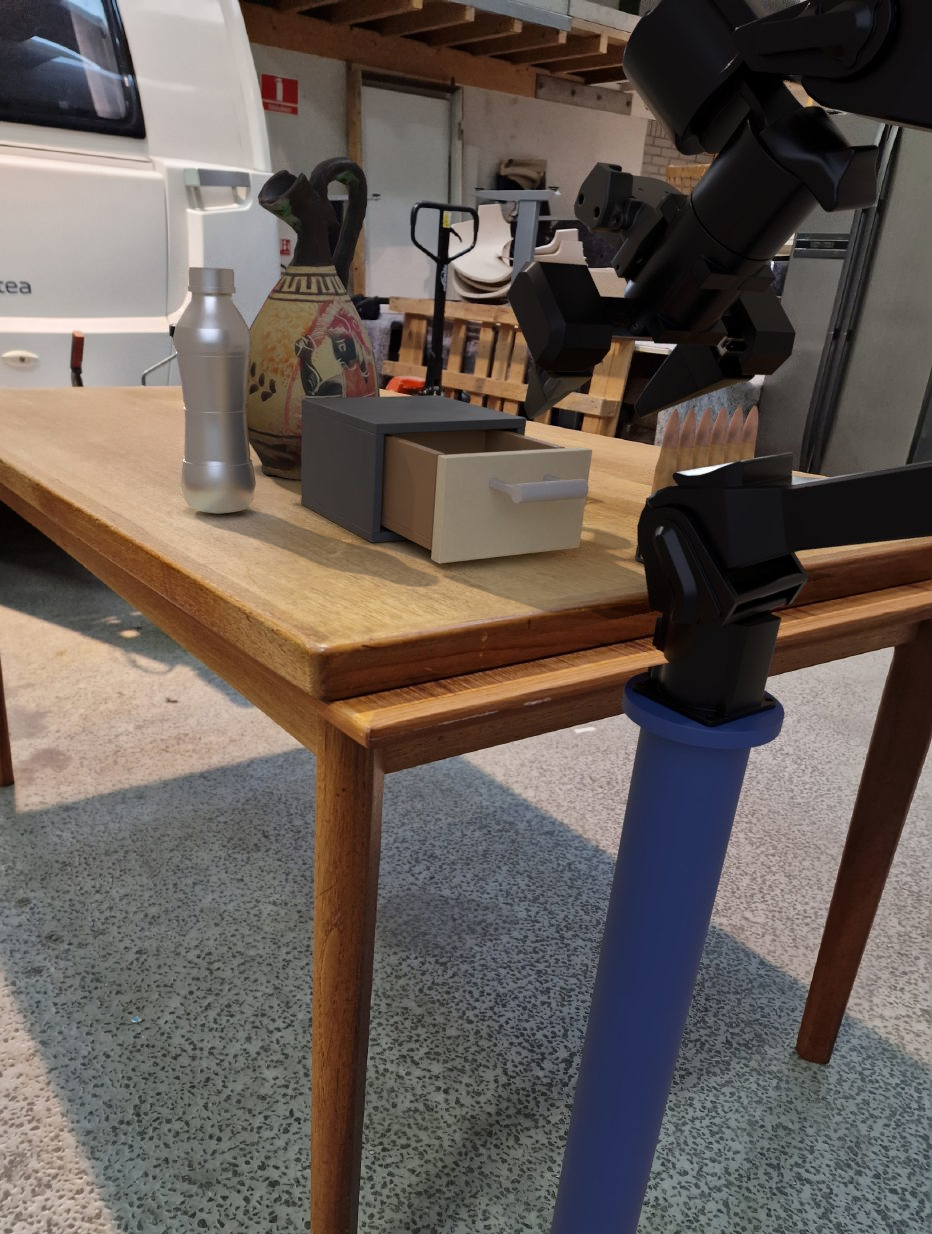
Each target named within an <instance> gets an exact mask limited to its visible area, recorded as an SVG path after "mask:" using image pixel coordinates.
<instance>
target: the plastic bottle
mask: <svg viewBox="0 0 932 1234" xmlns="http://www.w3.org/2000/svg"><path fill="white" fill-rule="evenodd" d="M187 292H189V293H190V292H191V297H190V301H189V303H188V304H187V305H186V307H185V308H184V310H183V312H182V313H181V315H180V317H179V319H178V321H177V322H176V324H175V328H174V331H173V332H174V333H173V346H174V349H175V357H176V361H177V367H178V373H179V378H180V384H181V392H182V394H181V395H182V402H183V403H184V404H183V405H184V407H183V413H184V445H183V448H184V449H183V456H184V458H183V459H182V464H181V475H180V485H181V490H182V494H183V495H182V496H183V499H184V501H185V503H186V504H187V505H188V506H189V508H190V509H192V510H194V511H197V512H203V513H208V514H215V515H225V514H229V513H236V512H240V511H244V510H247V509H248V508H249V507H250V506H251V504H252V502H253V501H254V499H255V492H256V491H255V490H256V484H257V482H256V475H255V474H256V473H255V469H254V464H253V460H252V458H251V449H250V448H251V447H250V443H249V437H248V428H247V408H246V403H247V385H248V376H249V366H250V357H251V354H250V351H251V345H252V338H251V335H250V331H249V329H250V327H249V326H248V324H247V323H246V320H245V318H244V317H243V315H242V314H241V312H240V311H239V308H238V307H237V306H236V304H235V303H234V301H233V294H236V287H235V271H234V268H222V267H221V268H219V267H203V266H202V267H198V266H189V267H188V285H187Z"/></svg>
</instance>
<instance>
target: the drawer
mask: <svg viewBox="0 0 932 1234" xmlns="http://www.w3.org/2000/svg"><path fill="white" fill-rule="evenodd" d="M592 456H593V449H591V448H587V447H583V446H581V447H580V446H579V447H565V446H562V445H559V444H555V443H551V442H549V441H545V440H541V439H538V438H534V437H532V436H527V435H525V436H524V435H521V434H517V433H514V432H510V431H507V430H503V429H486V430H463V431H440V432H416V433H393V434H384V451H383V475H382V498H381V522H380V525H382V526H384V527H386V528H388V529H390V530H392V531H394V532H396V533H398V534H400V535H402V536H404V537H406V538H408V540H409V541H412V542H414V543H415V544H417V545H419V546H420V547H423V548H425V549H427V550H429V551H431V554H430V555H431V556H430V557H431V558H430V560H432V561H434V562H435V563H437V564H447V563H455V562H466V561H474V560H482V559H491V558H499V557H508V556H517V555H524V554H525V555H526V554H527V555H528V554H534V553H542V552H543V553H545V552H553V551H562V550H571V549H579V548H580V545H581V537H582V531H583V530H582V529H583V523H584V515H585V507H586V499H587V496H588V494H589V478H590V470H591V465H592V464H591V463H592Z"/></svg>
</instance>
